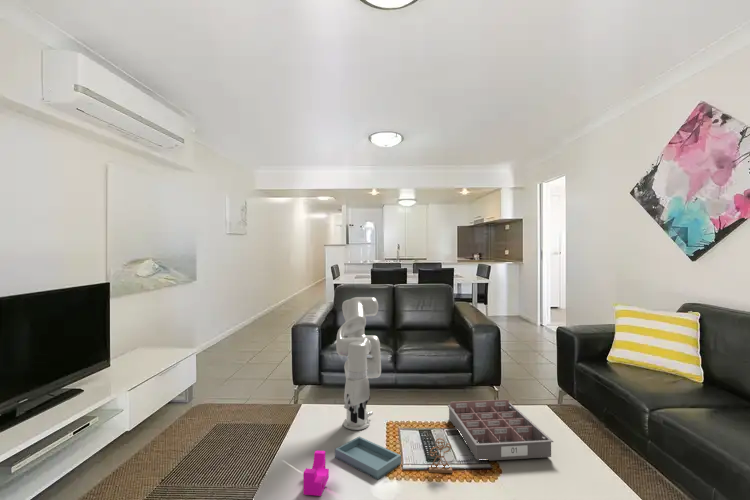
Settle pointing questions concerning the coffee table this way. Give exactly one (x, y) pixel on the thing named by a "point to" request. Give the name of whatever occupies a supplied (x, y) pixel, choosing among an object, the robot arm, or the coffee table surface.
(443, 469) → the wooden figure on stand
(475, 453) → the organizer tray
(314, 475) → the toy block
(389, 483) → the coffee table surface
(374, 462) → the slate tray
